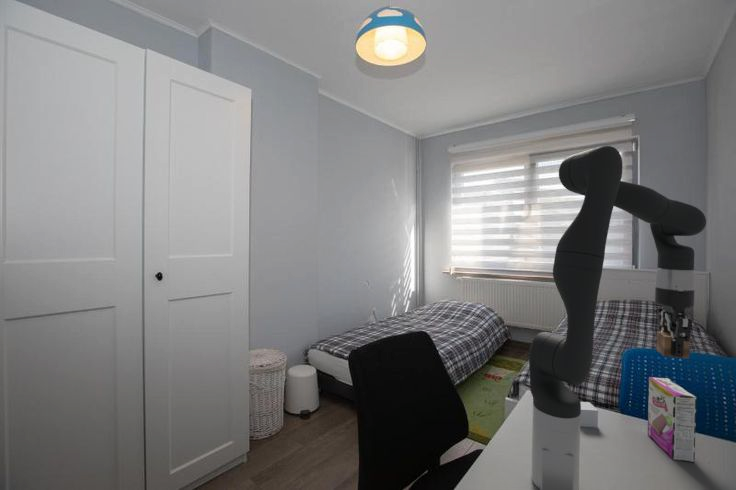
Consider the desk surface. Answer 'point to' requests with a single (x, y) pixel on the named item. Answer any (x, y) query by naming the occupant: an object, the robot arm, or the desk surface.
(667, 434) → the candy bar box
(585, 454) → the desk surface
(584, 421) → the grey block
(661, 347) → the walnut block
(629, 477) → the desk surface
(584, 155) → the robot arm
